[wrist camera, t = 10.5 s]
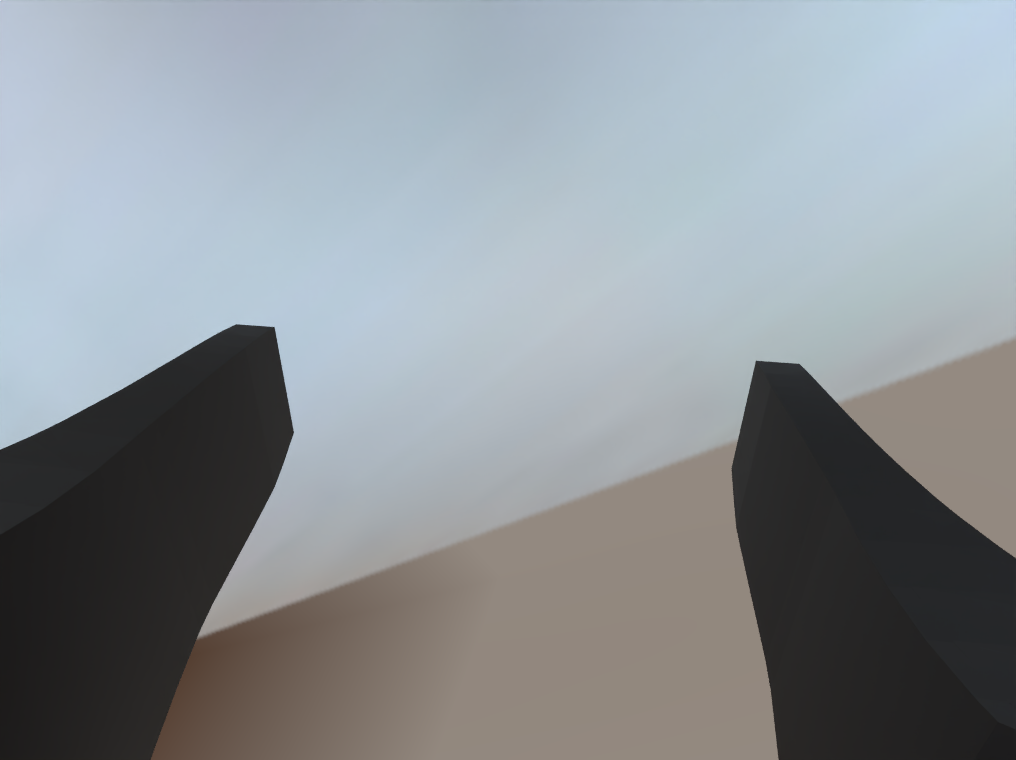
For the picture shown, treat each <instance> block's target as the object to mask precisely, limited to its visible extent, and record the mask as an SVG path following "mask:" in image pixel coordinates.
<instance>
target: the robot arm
mask: <svg viewBox="0 0 1016 760" xmlns="http://www.w3.org/2000/svg"><path fill="white" fill-rule="evenodd" d="M293 433H294V431H293V426H292V420H291V415H290V409H289V404H288V398H287V393H286V387H285V382H284V376H283V371H282V366H281V360H280V355H279V349H278V344H277V338H276V333H275V327H265V326H251V325H237V324H236V325H234V326H232V327H230V328H228V329H226V330H224V331H222V332H220V333H218V334H216V335H214V336H212V337H211V338H209V339H207V340H205V341H204V342H202V343H200V344H198V345H197V346H195V347H193V348H192V349H190V350H188V351H187V352H185V353H183V354H181V355H180V356H178V357H176V358H175V359H173V360H171V361H170V362H168V363H166V364H165V365H163V366H161V367H159V368H158V369H156V370H154V371H153V372H151V373H149V374H148V375H146V376H144V377H142V378H141V379H139V380H137V381H136V382H134V383H132V384H131V385H129V386H127V387H125V388H123V389H122V390H120V391H118V392H116V393H114V394H112V395H110V396H109V397H107V398H105V399H103V400H101V401H99V402H97V403H96V404H94V405H92V406H90V407H88V408H86V409H84V410H83V411H81V412H79V413H77V414H75V415H73V416H71V417H69V418H68V419H66V420H64V421H62V422H60V423H58V424H56V425H54V426H52V427H50V428H48V429H45V430H43V431H41V432H39V433H37V434H35V435H33V436H31V437H28V438H26V439H24V440H22V441H19V442H17V443H15V444H12V445H10V446H8V447H6V448H3V449H1V450H0V760H151V757H152V754H153V751H154V748H155V746H156V743H157V740H158V737H159V735H160V732H161V729H162V727H163V724H164V721H165V719H166V716H167V713H168V710H169V707H170V705H171V702H172V699H173V697H174V694H175V692H176V689H177V686H178V684H179V681H180V679H181V676H182V674H183V671H184V669H185V666H186V664H187V661H188V659H189V656H190V654H191V651H192V649H193V646H194V644H195V641H196V639H197V636H198V634H199V632H200V629H201V627H202V625H203V623H204V621H205V619H206V617H207V615H208V613H209V610H210V608H211V606H212V604H213V602H214V600H215V599H216V597H217V595H218V593H219V591H220V589H221V587H222V585H223V584H224V582H225V580H226V578H227V576H228V574H229V572H230V571H231V569H232V567H233V565H234V563H235V561H236V559H237V557H238V556H239V554H240V552H241V550H242V548H243V546H244V544H245V543H246V541H247V539H248V537H249V535H250V533H251V531H252V530H253V528H254V526H255V524H256V522H257V520H258V518H259V516H260V514H261V512H262V510H263V509H264V507H265V505H266V503H267V501H268V499H269V497H270V495H271V493H272V491H273V489H274V487H275V485H276V482H277V479H278V477H279V474H280V471H281V469H282V466H283V463H284V460H285V457H286V454H287V451H288V448H289V445H290V442H291V439H292V436H293ZM732 481H733V495H734V507H735V518H736V528H737V533H738V538H739V542H740V547H741V552H742V556H743V561H744V566H745V570H746V575H747V579H748V584H749V588H750V593H751V597H752V601H753V606H754V610H755V615H756V619H757V624H758V628H759V633H760V637H761V642H762V646H763V651H764V655H765V660H766V665H767V671H768V677H769V683H770V688H771V695H772V705H773V713H774V722H775V731H776V739H777V749H778V758H779V760H1016V558H1015V557H1013V556H1012V555H1010V554H1009V553H1007V552H1006V551H1005V550H1003V549H1002V548H1000V547H999V546H998V545H996V544H995V543H993V542H992V541H991V540H990V539H988V538H987V537H986V536H984V535H983V534H982V533H980V532H979V531H978V530H976V529H975V528H974V527H972V526H971V525H970V524H968V523H967V522H965V521H964V520H963V519H962V518H960V517H959V516H958V515H957V514H955V513H954V512H953V511H952V510H950V509H949V508H948V507H947V506H945V505H944V504H943V503H942V502H940V501H939V500H938V499H937V498H936V497H934V496H933V495H932V494H931V493H930V492H929V491H928V490H927V489H925V488H924V487H923V486H922V485H921V484H920V483H919V482H917V481H916V480H915V479H914V478H913V477H912V476H911V475H909V474H908V473H907V472H906V471H905V470H904V469H903V468H902V467H901V466H900V465H898V464H897V463H896V462H895V461H894V460H893V459H892V458H891V457H890V456H889V455H888V454H887V453H886V452H885V451H883V449H882V448H881V447H879V446H878V445H877V444H876V443H875V442H874V441H873V440H872V439H871V438H870V437H869V436H868V435H867V434H866V433H865V432H864V431H863V430H862V429H861V428H860V427H859V426H858V425H857V424H856V422H854V420H852V418H851V417H850V416H849V415H848V414H847V413H846V412H845V411H844V410H843V409H842V408H841V407H840V406H839V405H838V404H837V403H836V402H835V401H834V399H833V398H832V397H831V396H830V395H829V394H828V393H827V392H826V391H825V390H824V389H823V388H822V387H821V386H820V385H819V384H818V382H817V381H816V380H815V379H814V378H813V377H812V376H811V375H810V374H809V373H808V372H807V371H806V370H805V369H804V368H803V367H802V366H801V365H800V364H793V363H778V362H764V361H756V363H755V368H754V372H753V376H752V381H751V385H750V390H749V394H748V398H747V403H746V407H745V412H744V416H743V421H742V425H741V429H740V434H739V438H738V443H737V447H736V451H735V456H734V460H733V465H732Z"/></svg>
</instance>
